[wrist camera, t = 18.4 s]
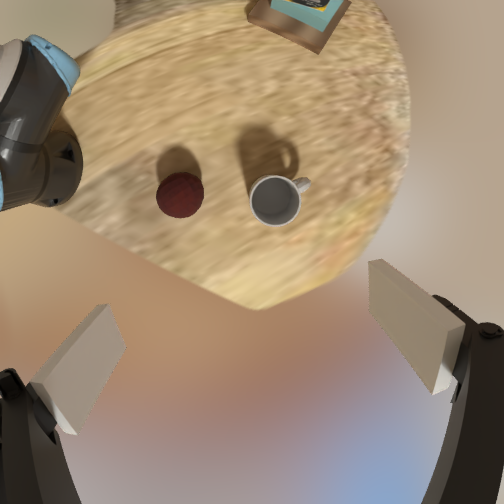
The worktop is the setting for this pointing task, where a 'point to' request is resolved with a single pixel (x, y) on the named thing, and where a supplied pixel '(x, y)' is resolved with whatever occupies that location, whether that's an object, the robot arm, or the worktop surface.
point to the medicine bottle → (312, 3)
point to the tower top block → (308, 12)
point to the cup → (277, 199)
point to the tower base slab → (295, 25)
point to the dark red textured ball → (180, 195)
